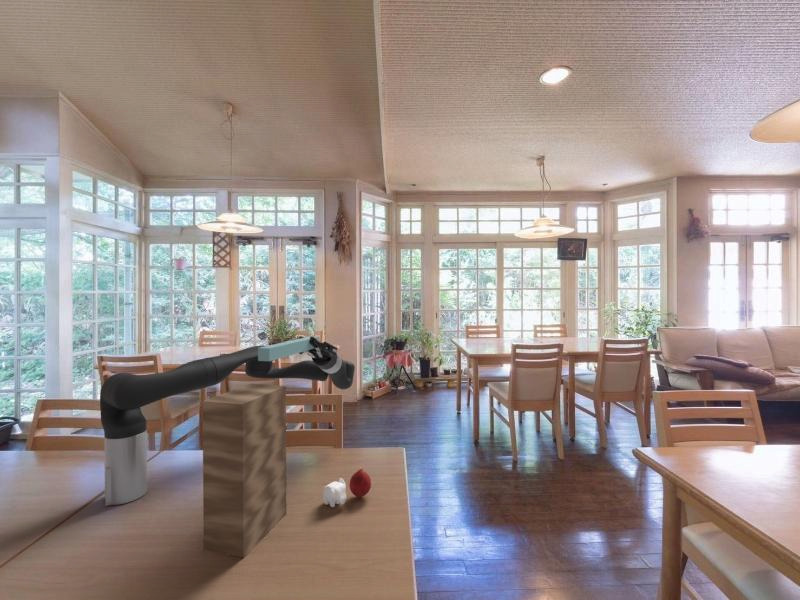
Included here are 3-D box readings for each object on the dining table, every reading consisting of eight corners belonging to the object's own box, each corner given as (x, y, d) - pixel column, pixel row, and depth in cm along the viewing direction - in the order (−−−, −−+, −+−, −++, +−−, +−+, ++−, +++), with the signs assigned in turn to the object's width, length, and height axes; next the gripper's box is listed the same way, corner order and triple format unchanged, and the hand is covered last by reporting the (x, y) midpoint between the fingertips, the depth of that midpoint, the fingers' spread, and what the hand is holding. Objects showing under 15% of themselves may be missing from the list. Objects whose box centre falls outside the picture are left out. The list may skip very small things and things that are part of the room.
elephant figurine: (336, 515, 91) (336, 491, 90) (313, 505, 95) (313, 482, 95) (353, 502, 96) (353, 480, 96) (331, 493, 101) (331, 472, 100)
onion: (367, 505, 95) (367, 474, 95) (346, 502, 96) (346, 472, 96) (373, 493, 101) (373, 464, 101) (353, 490, 102) (353, 462, 102)
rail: (269, 361, 90) (269, 348, 90) (258, 360, 91) (258, 347, 91) (318, 347, 115) (318, 336, 115) (309, 346, 116) (309, 336, 116)
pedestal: (243, 558, 76) (242, 404, 75) (203, 549, 78) (202, 400, 78) (286, 513, 91) (285, 386, 91) (251, 507, 94) (251, 383, 93)
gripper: (311, 348, 128) (287, 327, 113) (348, 349, 124) (329, 328, 110) (306, 369, 124) (281, 350, 110) (344, 371, 121) (323, 351, 106)
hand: (305, 339), depth 110 cm, fingers closed on rail, 3 cm apart
